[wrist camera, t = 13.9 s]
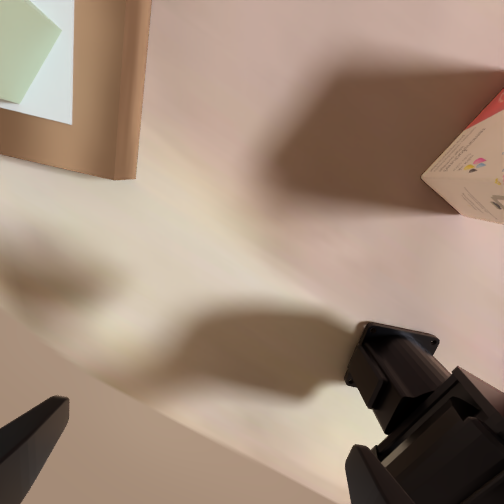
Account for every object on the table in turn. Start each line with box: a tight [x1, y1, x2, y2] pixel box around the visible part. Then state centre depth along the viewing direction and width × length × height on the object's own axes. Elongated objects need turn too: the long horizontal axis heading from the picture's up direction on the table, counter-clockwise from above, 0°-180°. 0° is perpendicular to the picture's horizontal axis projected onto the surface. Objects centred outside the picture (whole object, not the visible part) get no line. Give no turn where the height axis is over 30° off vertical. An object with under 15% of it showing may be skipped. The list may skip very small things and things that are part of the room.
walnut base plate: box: [0, 0, 152, 180], centre depth 14 cm, size 12×12×3 cm
